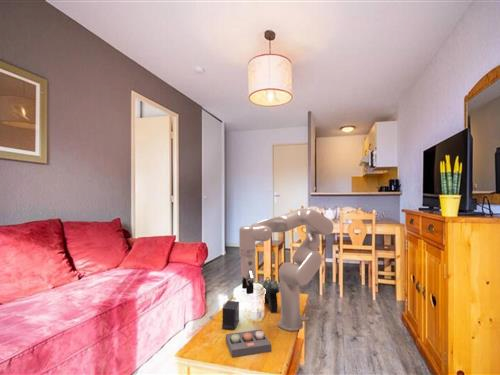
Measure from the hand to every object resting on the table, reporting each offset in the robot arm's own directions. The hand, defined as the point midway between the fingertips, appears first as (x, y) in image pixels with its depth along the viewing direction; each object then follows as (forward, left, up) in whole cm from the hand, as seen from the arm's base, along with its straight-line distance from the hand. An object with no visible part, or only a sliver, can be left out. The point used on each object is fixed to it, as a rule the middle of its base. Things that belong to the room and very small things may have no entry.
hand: (247, 290), depth 131 cm
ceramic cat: (-22, -31, -22) cm, 44 cm away
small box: (+5, -15, -22) cm, 27 cm away
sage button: (+8, +7, -19) cm, 22 cm away
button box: (+2, +7, -22) cm, 23 cm away
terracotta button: (+2, +7, -19) cm, 21 cm away
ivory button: (-3, +7, -19) cm, 21 cm away
